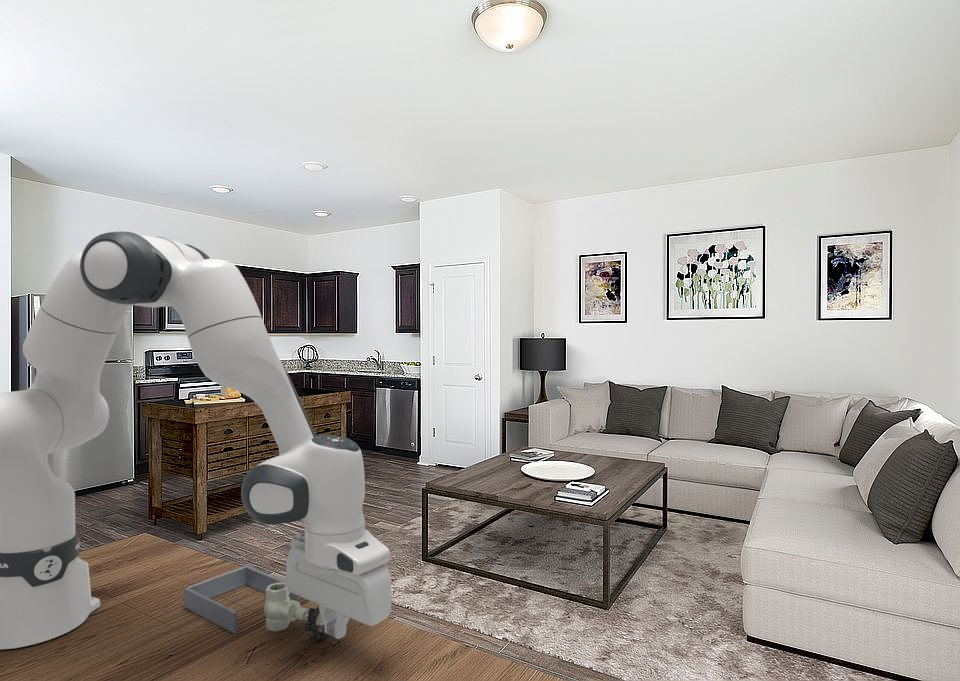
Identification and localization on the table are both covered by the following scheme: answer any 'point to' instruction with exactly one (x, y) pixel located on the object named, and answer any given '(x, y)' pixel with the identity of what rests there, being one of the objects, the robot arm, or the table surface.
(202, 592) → the valve dock
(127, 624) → the table surface
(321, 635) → the valve
